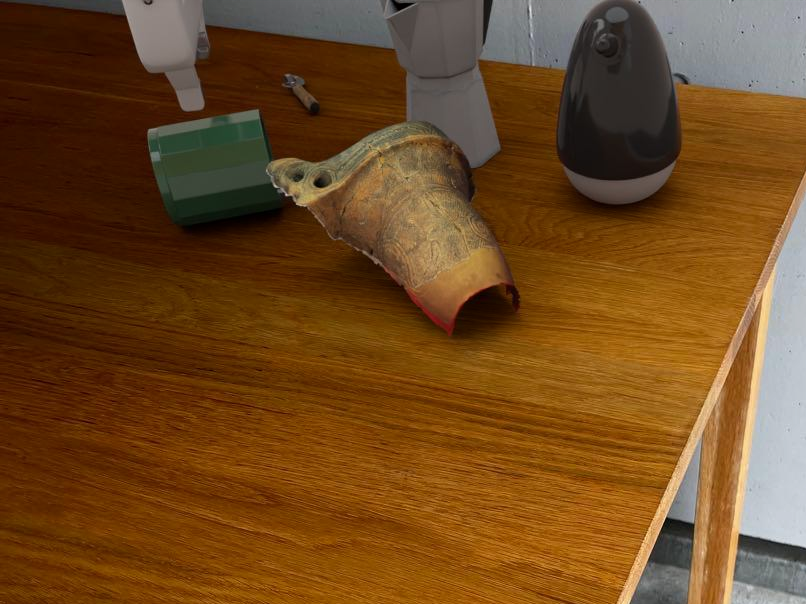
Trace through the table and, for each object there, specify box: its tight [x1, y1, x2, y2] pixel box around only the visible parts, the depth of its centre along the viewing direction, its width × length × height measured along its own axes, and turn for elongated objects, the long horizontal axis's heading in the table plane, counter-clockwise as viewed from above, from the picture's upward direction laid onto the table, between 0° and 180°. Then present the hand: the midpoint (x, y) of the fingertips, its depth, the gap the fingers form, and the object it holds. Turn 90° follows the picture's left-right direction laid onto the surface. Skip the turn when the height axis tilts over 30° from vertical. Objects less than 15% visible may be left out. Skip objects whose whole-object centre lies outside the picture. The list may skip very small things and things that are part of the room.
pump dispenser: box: [555, 0, 683, 205], centre depth 83 cm, size 10×10×15 cm
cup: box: [147, 108, 285, 227], centre depth 88 cm, size 8×8×9 cm
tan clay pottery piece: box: [266, 121, 522, 338], centre depth 79 cm, size 17×11×18 cm
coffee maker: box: [379, 0, 502, 169], centre depth 89 cm, size 15×9×18 cm, turn 148°
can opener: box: [281, 73, 321, 114], centre depth 104 cm, size 9×2×1 cm, turn 22°
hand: (197, 80), depth 84 cm, fingers open, 8 cm apart
